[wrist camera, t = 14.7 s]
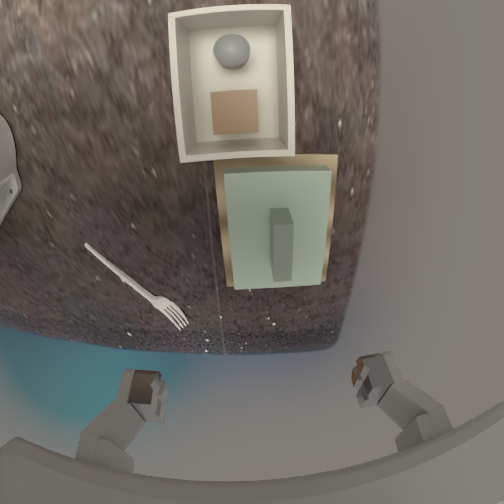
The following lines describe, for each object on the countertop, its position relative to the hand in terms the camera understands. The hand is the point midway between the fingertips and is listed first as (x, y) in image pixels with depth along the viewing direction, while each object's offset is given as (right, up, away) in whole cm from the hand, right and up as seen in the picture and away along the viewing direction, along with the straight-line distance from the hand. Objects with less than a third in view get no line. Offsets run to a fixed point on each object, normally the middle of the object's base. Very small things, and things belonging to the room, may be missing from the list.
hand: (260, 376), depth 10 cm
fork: (-18, 0, +29) cm, 34 cm away
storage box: (-2, +23, +15) cm, 27 cm away
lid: (+3, +8, +24) cm, 25 cm away
